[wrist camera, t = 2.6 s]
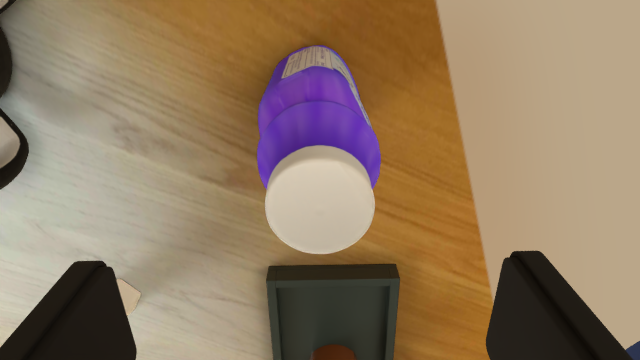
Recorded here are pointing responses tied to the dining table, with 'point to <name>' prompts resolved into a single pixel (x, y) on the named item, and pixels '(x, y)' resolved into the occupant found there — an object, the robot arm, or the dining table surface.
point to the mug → (3, 135)
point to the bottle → (316, 153)
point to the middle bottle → (333, 353)
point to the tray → (333, 309)
